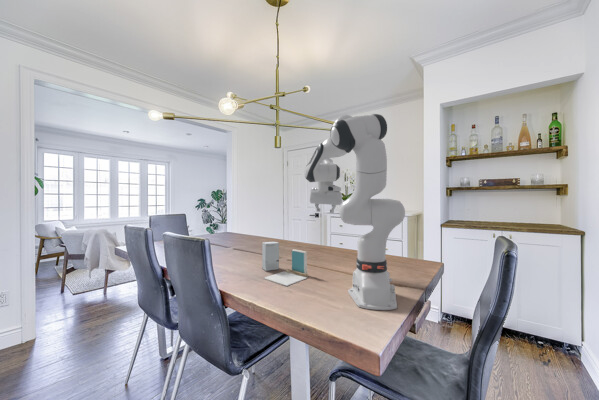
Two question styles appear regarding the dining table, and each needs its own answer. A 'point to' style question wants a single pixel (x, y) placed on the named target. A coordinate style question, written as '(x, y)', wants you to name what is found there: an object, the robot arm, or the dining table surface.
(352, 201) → the robot arm
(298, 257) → the tile
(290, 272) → the rail
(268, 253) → the skincare box
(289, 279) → the mat
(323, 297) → the dining table surface
